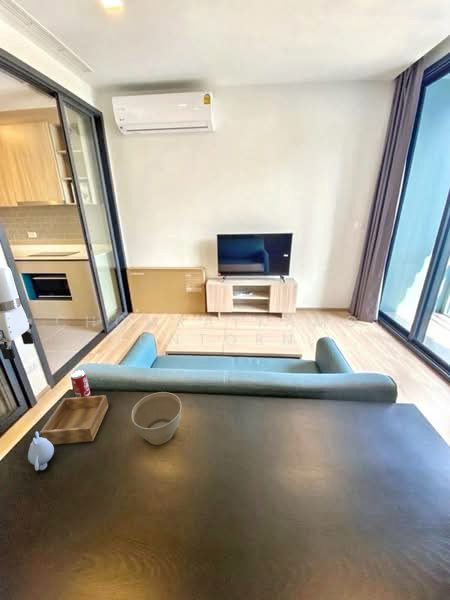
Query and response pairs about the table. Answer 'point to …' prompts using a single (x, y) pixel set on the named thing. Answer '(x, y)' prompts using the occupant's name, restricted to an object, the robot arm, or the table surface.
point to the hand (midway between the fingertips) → (19, 350)
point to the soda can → (80, 384)
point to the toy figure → (40, 452)
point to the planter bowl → (157, 417)
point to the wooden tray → (75, 420)
